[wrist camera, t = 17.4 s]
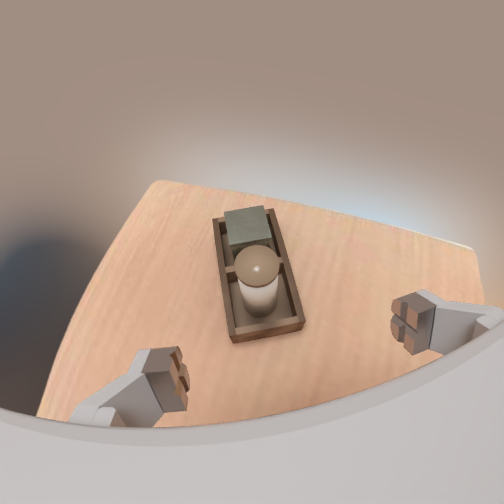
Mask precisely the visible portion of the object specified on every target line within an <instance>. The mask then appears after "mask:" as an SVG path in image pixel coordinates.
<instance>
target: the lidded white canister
mask: <svg viewBox="0 0 504 504" xmlns="http://www.w3.org/2000/svg"><path fill="white" fill-rule="evenodd" d="M234 269H235V273H236V276H237V278H238V282H239V286H240V290H241V294H242V298H243V302H244V306H245V309H246V311H247V312H248V313H249V314H250V315H251V316H253V317H256V318H264V317H267V316H269V315H271V314H272V313H273V312H274V310H275V308H276V304H277V287H278V273H279V259H278V256H277V255H276V253H275V252H274V251H273V250H272V249H270V248H268V247H266V246H262V245H253V246H249V247H246V248H245V249H243V250H242V251H241V252H240V253H239V254H238V255H237V257H236V259H235V262H234Z"/></svg>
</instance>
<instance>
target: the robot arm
mask: <svg viewBox="0 0 504 504" xmlns="http://www.w3.org/2000/svg"><path fill="white" fill-rule="evenodd" d="M391 311H392V312H393V313H394V316H393V317H392V319H391V332H392V335H393V337H394V338H395V339H396V340H397V341H398V342H402V343H404V348H405V349H406V350H407V351H408V352H409V353H410V354H411V355H415V354H417V353H420V352H422V351H425V350H427V349H429V350H432V351H435V352H438V353H440V354H443V355H444V356H442V357H440V358H438V359H436V360H434V361H432V362H430V363H428V364H426V365H424V366H422V367H420V368H418V369H415V370H413V371H411V372H409V373H406V374H404V375H402V376H399V377H397V378H394V379H392V380H389V381H387V382H384V383H382V384H379V385H377V386H374V387H371V388H368V389H366V390H363V391H360V392H357V393H354V394H351V395H348V396H345V397H341V398H338V399H335V400H331V401H328V402H325V403H321V404H317V405H314V406H310V407H306V408H302V409H298V410H293V411H289V412H284V413H280V414H275V415H270V416H264V417H259V418H253V419H247V420H240V421H233V422H226V423H217V424H208V425H197V426H182V427H153V426H154V425H155V423H156V422H157V421H158V420H159V419H160V418H161V417H162V415H163V414H164V413H167V412H178V411H187V404H188V396H187V394H186V393H187V392H188V391H189V389H190V378H189V373H188V370H187V367H186V365H184V364H183V363H182V357H183V356H182V353H181V350H180V348H179V347H178V346H173V347H163V348H153V349H151V348H150V349H142V350H138V352H137V354H136V356H135V358H134V360H133V362H132V364H131V366H130V369H129V371H128V373H127V374H123V375H122V376H120V377H119V378H117V379H116V380H114V381H113V382H111V383H110V384H108V385H107V386H105V387H104V388H102V389H100V390H99V391H97V392H96V393H94V394H93V395H91V396H90V397H88V398H87V399H85V400H84V401H82V402H81V403H79V404H77V406H76V408H75V410H74V412H73V413H72V415H71V417H70V419H69V421H68V422H63V421H56V420H50V419H45V418H40V417H34V416H30V415H25V414H21V413H17V412H13V411H10V410H6V409H3V408H0V504H504V310H502V309H500V308H498V307H496V306H487V305H478V304H470V303H461V302H453V301H449V302H446V301H445V300H443V299H441V298H439V297H438V296H436V295H434V294H432V293H431V292H429V291H427V290H425V289H422V290H419V291H417V292H414V293H411V294H409V295H406V296H403V297H400V298H397V299H395V300H393V302H392V307H391ZM152 427H153V428H152Z"/></svg>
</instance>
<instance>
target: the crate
mask: <svg viewBox="0 0 504 504" xmlns="http://www.w3.org/2000/svg"><path fill="white" fill-rule="evenodd" d="M265 214H266V217H267V221H268V224H269V228H270V232H271V235H272V240H271V241H270V249H272V250H273V251H274V252H275V253H276V255H277V256H278V259H279V273H278V287H277V304H276V308H275V310H274V312H273V313H272V314H271V315H269V316H267V317H264V318H256V317H253V316H251V315H250V314H249V313H248V312H247V311H246V309H245V306H244V302H243V298H242V294H241V290H240V286H239V282H238V278H237V276H236V273H235V269H234V259H233V254H232V249H231V248H230V246H229V240H228V234H227V228H226V222H225V217H221V218H215V219H212V220H213V228H214V236H215V243H216V251H217V258H218V265H219V272H220V279H221V286H222V293H223V299H224V306H225V312H226V319H227V325H228V331H229V336H230V338H231V340H232V342H233V343H239V342H245V341H250V340H256V339H261V338H266V337H271V336H276V335H281V334H285V333H290V332H294V331H299V330H302V328H303V325H304V323H305V321H306V320H305V317H304V313H303V309H302V305H301V302H300V298H299V294H298V291H297V287H296V284H295V280H294V277H293V273H292V269H291V266H290V262H289V259H288V255H287V252H286V249H285V245H284V242H283V238H282V235H281V232H280V228H279V225H278V222H277V218H276V215H275V212H274V208H273V209H267V210H265Z"/></svg>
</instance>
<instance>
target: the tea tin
mask: <svg viewBox="0 0 504 504" xmlns="http://www.w3.org/2000/svg"><path fill="white" fill-rule="evenodd" d="M224 216H225V222H226V228H227V234H228V240H229V246H230V248H231V249H232V254H233V259H234V262H235V259H236V257H237V255H238V254H239V253H240V252H241V251H242V250H243V249H245V248H246V247H249V246H253V245H262V246H266V247H268V248H270V241H271V240H272V235H271V232H270V228H269V224H268V221H267V217H266V214H265V210H264V206H263V205H262V206H256V207H250V208H244V209H238V210H233V211H227V212H224Z"/></svg>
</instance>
